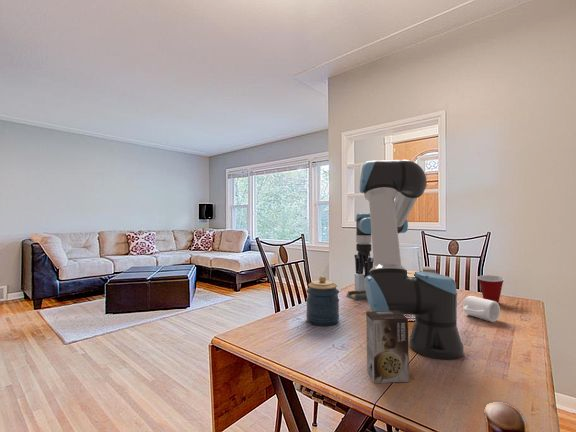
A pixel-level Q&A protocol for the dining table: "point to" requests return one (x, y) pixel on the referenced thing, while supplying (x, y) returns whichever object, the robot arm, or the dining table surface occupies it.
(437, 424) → the dining table surface
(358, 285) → the white rectangular block
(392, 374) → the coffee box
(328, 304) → the canister
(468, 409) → the dining table surface
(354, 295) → the grey rectangular tray
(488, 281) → the plastic cup
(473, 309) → the mug
